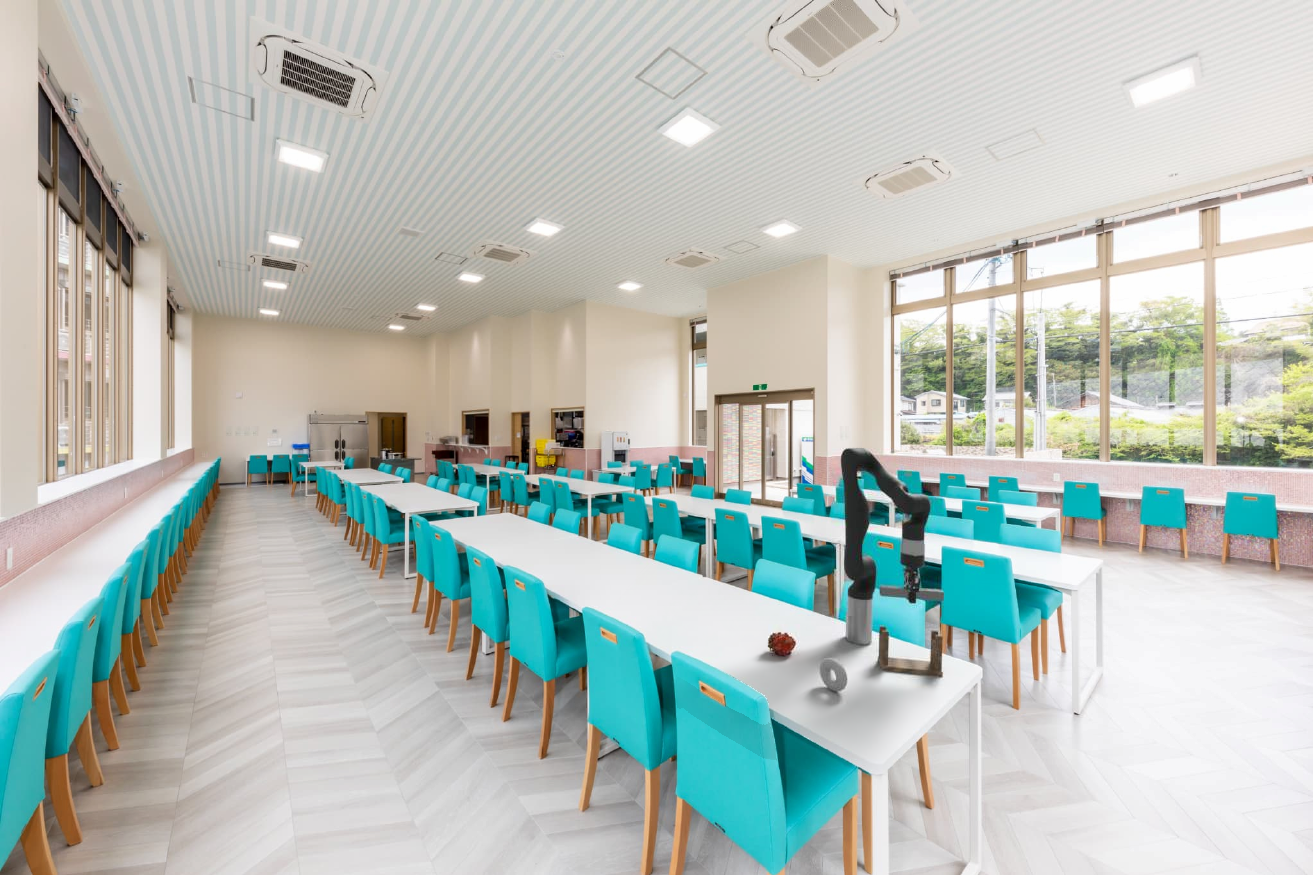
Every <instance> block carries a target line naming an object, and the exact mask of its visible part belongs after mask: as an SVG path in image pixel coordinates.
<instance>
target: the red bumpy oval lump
mask: <svg viewBox="0 0 1313 875" xmlns="http://www.w3.org/2000/svg"><path fill="white" fill-rule="evenodd" d="M796 645H797V641H796V640H795V638H794V637H793V636H791V635H789V634H788V632H784V633H782V631H779V632H778V631H777V633H776V632H773V633H772V634H770V635H769V637H768V640H767V648H768V649H769V652H771V653H774V654H775V655H780V656H783V657H784V656H786V655H791V654H792V653H793V650H794V649H795V648H796Z"/></svg>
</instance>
